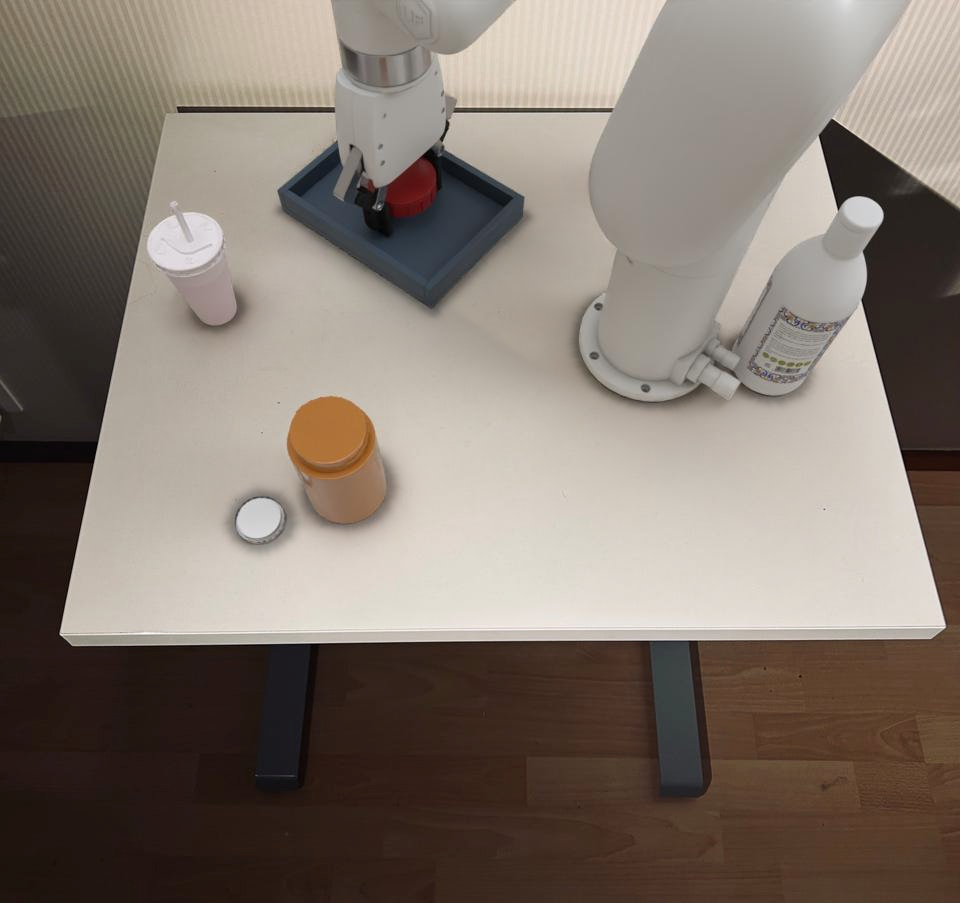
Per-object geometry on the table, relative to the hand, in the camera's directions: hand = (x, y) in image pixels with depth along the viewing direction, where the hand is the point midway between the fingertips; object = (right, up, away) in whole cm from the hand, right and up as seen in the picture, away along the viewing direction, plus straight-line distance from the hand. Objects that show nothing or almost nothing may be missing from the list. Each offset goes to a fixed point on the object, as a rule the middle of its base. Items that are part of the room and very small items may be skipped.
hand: (403, 205), depth 80 cm
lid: (0, +2, -3) cm, 3 cm away
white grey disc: (-11, -30, -14) cm, 35 cm away
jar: (-4, -28, -12) cm, 30 cm away
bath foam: (+34, -17, -6) cm, 38 cm away
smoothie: (-17, -11, -4) cm, 21 cm away
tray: (0, 0, +1) cm, 1 cm away
